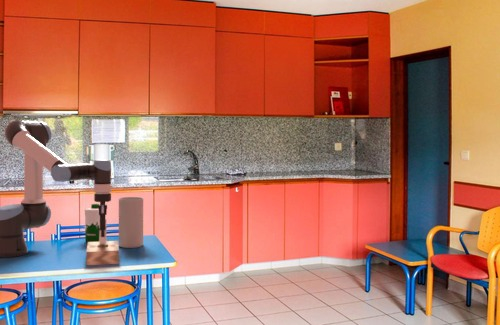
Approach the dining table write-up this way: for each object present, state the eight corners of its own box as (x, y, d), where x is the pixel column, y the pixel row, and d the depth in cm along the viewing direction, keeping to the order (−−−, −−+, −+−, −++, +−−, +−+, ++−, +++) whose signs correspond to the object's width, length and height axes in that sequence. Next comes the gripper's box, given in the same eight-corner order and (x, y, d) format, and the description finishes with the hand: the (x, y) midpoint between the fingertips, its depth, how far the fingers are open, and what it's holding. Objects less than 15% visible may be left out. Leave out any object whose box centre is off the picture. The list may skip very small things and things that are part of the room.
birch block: (86, 265, 222) (86, 252, 222) (88, 254, 243) (88, 242, 243) (118, 263, 226) (118, 250, 226) (117, 252, 247) (117, 240, 247)
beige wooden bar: (99, 254, 233) (99, 220, 232) (99, 253, 236) (99, 219, 235) (106, 254, 234) (106, 220, 233) (106, 252, 237) (106, 219, 236)
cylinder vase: (141, 242, 272) (141, 196, 270) (144, 247, 260) (144, 199, 259) (117, 244, 267) (117, 197, 266) (120, 249, 256) (120, 200, 254)
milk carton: (104, 239, 278) (104, 203, 277) (98, 243, 269) (98, 206, 268) (89, 239, 278) (88, 203, 278) (82, 242, 269) (82, 205, 269)
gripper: (111, 194, 227) (111, 246, 228) (110, 191, 242) (111, 239, 243) (93, 194, 225) (94, 246, 226) (94, 191, 240) (94, 240, 241)
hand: (102, 242), depth 234 cm, fingers closed on beige wooden bar, 3 cm apart
